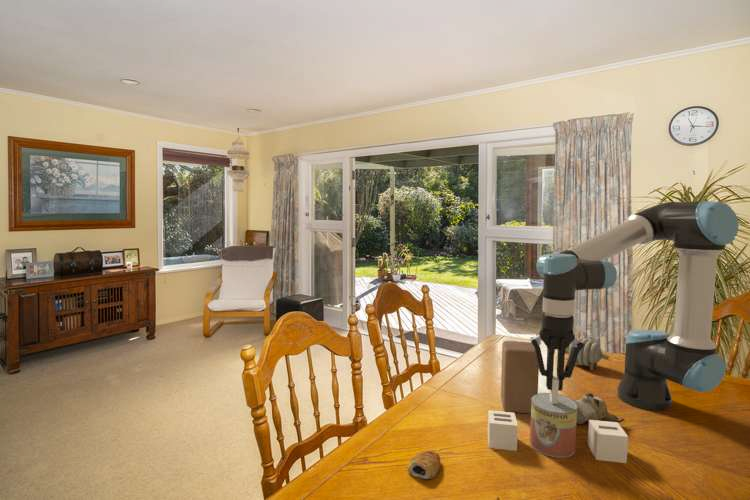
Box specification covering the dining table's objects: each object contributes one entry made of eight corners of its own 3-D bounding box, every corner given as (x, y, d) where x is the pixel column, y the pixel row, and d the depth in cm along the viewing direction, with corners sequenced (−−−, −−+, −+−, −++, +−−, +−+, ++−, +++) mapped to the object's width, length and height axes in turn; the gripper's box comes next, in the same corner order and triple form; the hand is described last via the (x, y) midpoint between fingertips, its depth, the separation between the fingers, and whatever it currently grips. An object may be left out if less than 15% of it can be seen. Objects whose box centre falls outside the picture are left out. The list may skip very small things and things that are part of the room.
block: (537, 415, 127) (540, 352, 125) (503, 412, 129) (505, 349, 127) (532, 400, 137) (534, 341, 135) (500, 398, 139) (502, 339, 137)
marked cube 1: (513, 436, 116) (514, 412, 115) (516, 451, 109) (517, 425, 108) (487, 434, 117) (488, 409, 116) (489, 448, 110) (489, 422, 109)
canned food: (522, 446, 111) (524, 403, 109) (538, 429, 119) (540, 389, 118) (567, 463, 103) (570, 417, 102) (580, 444, 112) (583, 401, 110)
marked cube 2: (616, 447, 110) (617, 421, 110) (626, 463, 103) (628, 436, 103) (587, 444, 112) (589, 419, 111) (595, 460, 105) (597, 433, 104)
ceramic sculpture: (559, 386, 127) (603, 385, 130) (556, 413, 128) (599, 412, 131) (581, 402, 117) (628, 401, 119) (577, 431, 118) (625, 430, 120)
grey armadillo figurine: (566, 357, 175) (568, 332, 174) (611, 368, 164) (613, 340, 163) (558, 364, 167) (559, 338, 166) (604, 376, 156) (606, 347, 155)
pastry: (421, 454, 108) (422, 440, 107) (446, 462, 104) (447, 448, 104) (405, 474, 100) (405, 459, 99) (432, 484, 96) (432, 468, 96)
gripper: (581, 311, 110) (576, 397, 112) (528, 309, 112) (525, 392, 115) (589, 319, 102) (584, 410, 105) (533, 316, 105) (529, 405, 108)
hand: (553, 401), depth 110 cm, fingers closed
